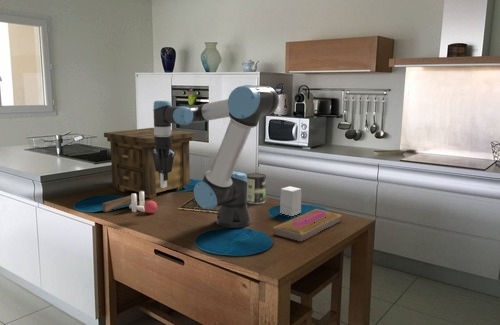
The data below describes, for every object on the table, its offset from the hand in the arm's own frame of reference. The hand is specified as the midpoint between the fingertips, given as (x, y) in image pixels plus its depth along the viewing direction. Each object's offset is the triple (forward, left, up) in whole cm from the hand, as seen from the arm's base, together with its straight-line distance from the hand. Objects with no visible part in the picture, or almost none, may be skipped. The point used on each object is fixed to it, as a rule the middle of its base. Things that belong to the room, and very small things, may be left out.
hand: (163, 187), depth 197 cm
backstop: (+28, +1, -14) cm, 31 cm away
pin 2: (+17, -2, -14) cm, 22 cm away
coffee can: (-21, -46, -14) cm, 52 cm away
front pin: (+13, 0, -13) cm, 18 cm away
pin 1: (+17, +2, -14) cm, 22 cm away
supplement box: (-46, -37, -14) cm, 61 cm away
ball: (+9, 0, -11) cm, 14 cm away
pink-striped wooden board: (-61, -25, -15) cm, 68 cm away
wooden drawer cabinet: (+40, -32, -14) cm, 53 cm away
